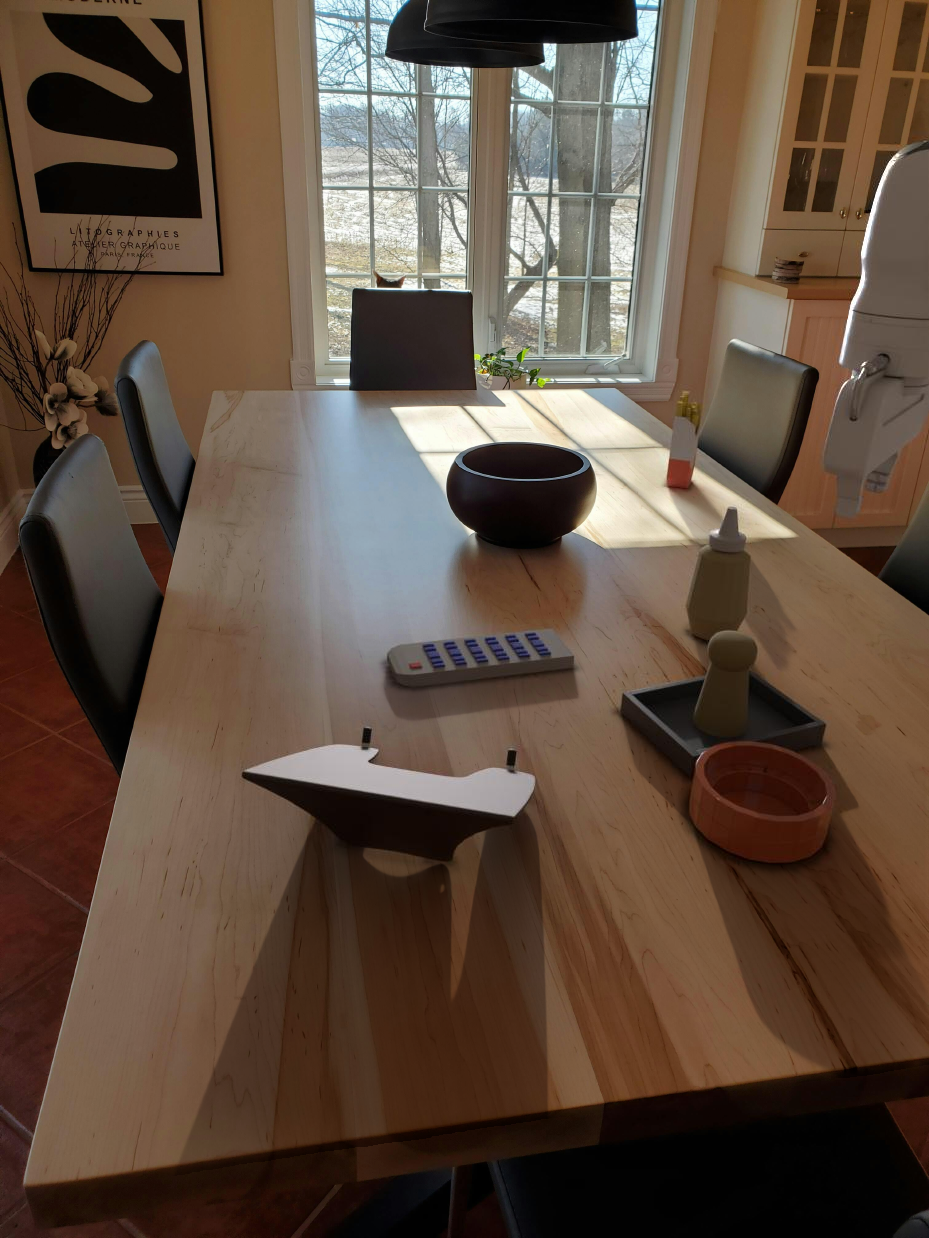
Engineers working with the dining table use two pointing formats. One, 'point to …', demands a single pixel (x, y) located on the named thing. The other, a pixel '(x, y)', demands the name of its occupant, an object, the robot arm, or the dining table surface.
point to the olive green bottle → (726, 685)
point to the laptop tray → (394, 798)
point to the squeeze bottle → (720, 581)
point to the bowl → (761, 801)
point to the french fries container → (684, 442)
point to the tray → (675, 734)
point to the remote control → (478, 657)
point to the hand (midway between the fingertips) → (861, 502)
